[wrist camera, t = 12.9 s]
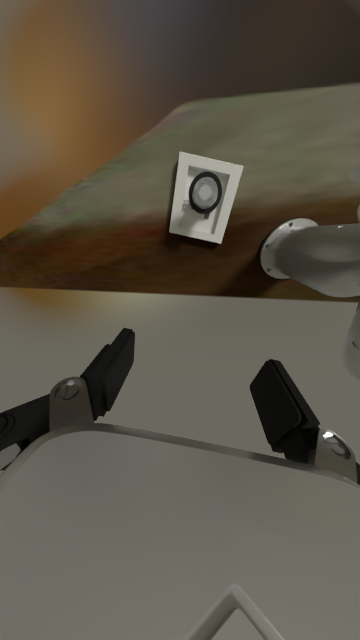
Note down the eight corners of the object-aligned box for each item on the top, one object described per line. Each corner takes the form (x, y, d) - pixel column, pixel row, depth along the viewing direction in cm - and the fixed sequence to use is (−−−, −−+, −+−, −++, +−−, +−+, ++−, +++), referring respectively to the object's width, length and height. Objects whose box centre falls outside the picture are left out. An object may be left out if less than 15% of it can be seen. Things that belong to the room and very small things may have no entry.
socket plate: (240, 170, 30) (243, 166, 28) (219, 243, 36) (220, 243, 35) (180, 156, 30) (179, 151, 28) (170, 232, 36) (169, 232, 34)
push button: (183, 217, 34) (179, 212, 25) (184, 186, 31) (180, 169, 23) (214, 218, 33) (220, 213, 25) (217, 187, 31) (225, 169, 22)
